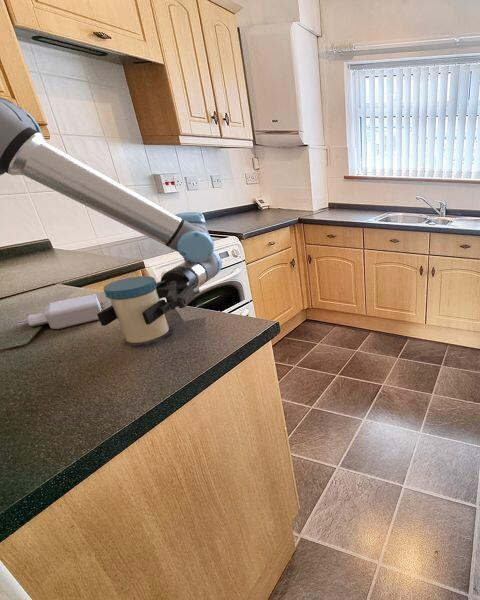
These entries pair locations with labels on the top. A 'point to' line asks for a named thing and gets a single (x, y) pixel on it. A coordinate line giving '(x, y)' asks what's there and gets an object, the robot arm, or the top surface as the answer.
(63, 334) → the top surface
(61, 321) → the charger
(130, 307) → the jar
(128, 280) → the lid
